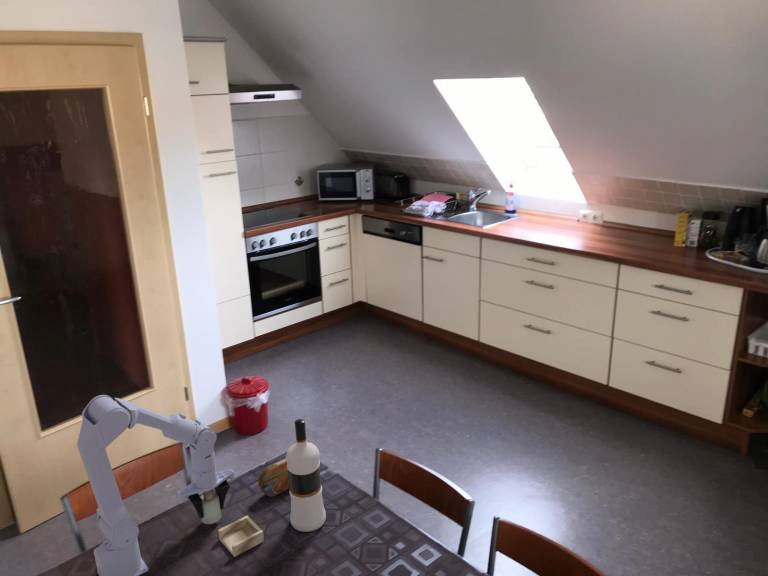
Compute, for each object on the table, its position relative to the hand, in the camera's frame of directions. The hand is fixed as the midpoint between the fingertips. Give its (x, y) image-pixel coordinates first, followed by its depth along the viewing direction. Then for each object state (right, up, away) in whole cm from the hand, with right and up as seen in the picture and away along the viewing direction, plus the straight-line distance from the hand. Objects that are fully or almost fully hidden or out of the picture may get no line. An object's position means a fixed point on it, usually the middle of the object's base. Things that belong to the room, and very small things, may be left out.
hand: (210, 511), depth 162 cm
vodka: (+26, -3, 0) cm, 26 cm away
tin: (+17, +2, +14) cm, 22 cm away
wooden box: (+9, -5, -6) cm, 12 cm away
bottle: (0, -2, +1) cm, 2 cm away
